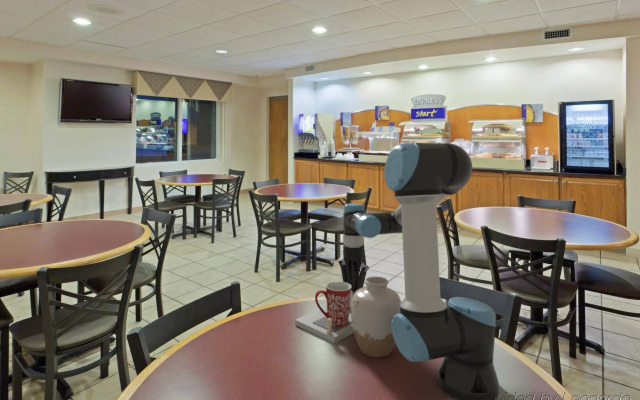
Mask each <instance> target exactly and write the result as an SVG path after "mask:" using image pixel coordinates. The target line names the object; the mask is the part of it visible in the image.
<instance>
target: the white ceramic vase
mask: <svg viewBox="0 0 640 400" xmlns="http://www.w3.org/2000/svg"><path fill="white" fill-rule="evenodd" d="M364 284H366V286H363V287H362V288H360V289H358V290H357V291H356V292H355V293H354V295H353V298H352V302H351V319H352V325H353V330H354V333H353V334H354V337H355V340H356V343H357V346H358V347H359V349H360V352H361V353H362V354H363V355H365V356H366V357H370V358H377V359H379V358H384V357H387V356H389V355H390V354H391V352H392V351H393V349H394V347H395V345H396V343H395V340H394V337H393V333H392V327H391V323H392V319H393V316H394V315H396V314H397V313H399V314H400V303H401V302H402V300H401V297H400V296H399V294H398V292H397V291H395V290H394V289H392V288H390V287H388V284H389V280H388V279H387V278H385V277H383V276H369V277H365V281H364Z"/></svg>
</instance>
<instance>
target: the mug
mask: <svg viewBox="0 0 640 400" xmlns="http://www.w3.org/2000/svg"><path fill="white" fill-rule="evenodd" d="M325 288H326V290H323V289H319V290H317V291H316V293H315V296H314V299H315V300H314V301H315V304H316V306H317V308H318V310H319V309H320V311H321V312H322V313H323V314H324V315H325V316H326V317H327V319H328V318H331V319H332V326H333V327H344V326H346V325H347V324H348V321H349V307H350V294H351V285H350V284H348V283H345V282H343V281H331V282H327V283H326V284H325ZM320 294H323V295H324V297H325V299H326V306H327V312H325V311H324V310H323V309H322V308H323V307H321V305H320V303H319V302H318V301H319V300H318V296H319V295H320Z"/></svg>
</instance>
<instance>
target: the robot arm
mask: <svg viewBox="0 0 640 400" xmlns="http://www.w3.org/2000/svg"><path fill="white" fill-rule="evenodd" d="M472 174H473V162H472V159H471V157H470V155H469V154H468V152H467V151H466V150H465V149H464V148H463V147H462V146H459V145H456V144H455V143H449V142H442V143H440V142H438V143H436V142H407V143H399V144H397V145H395V146H394V147H393V148H392V149H391V150H390V151H389V153H388V156H387V159H386V161H385V165H384V181H385V184H386V185H385V186H387V188H388V189H389V190H390V191H392V192H394V199H395V200H397V202H399V203H400V204H399V206H397V208H395V209H394V211H389V212H388V211H387V212H372V213H371V212H370V213H366V211H365V206H364V204H363V203H358V202H357V203H355V202H354V203H353V202H352V203H350V202H349V203H345V204H344V206H343V213H342V215H343V237H342V238H343V247H342V248H343V250H342V254H343V259H340V260H338V264H339V267H340V271H341V276H342V277H341V278H342V282H345V283H348V284H350V285H351V294H350V307H351V302H352V298H353V295H354V293H355V292H356V291H357V290H358V289H360V288H362V287H364V284H365V280H366V278H367V277H366V276H367V272H368V270H369V268H370V266H369V265H366V264H365V263H364V257H363V256H364V252H365V251H364V250H365V247H364V243H365V238H368V239H373V238H375V237H376V236H378V235H388V234H402V251H403V252H402V253H403V272H404V273H403V275H404V277H403V278H404V293H405V294H404V295H405V297H404V299H402V300H401V303H400V314H399V313H397V314H396V315H394V316H393V319H392V323H391V327H392V333H393V337H394V340H395V345H396V348H397V349H398V350H399V352H400V353H401V355H402V357H404V358H405V359H406V360H407V361H409V362H412V363H415V362H429V361H432V360H437V359H441V358H442V359H443V360H442V362H441V365H440V367H439V370H438V371H437V372H438V374H437V382H438V385H439V386H440V388H441V389H442V390H443V391H444V392H445V394H446V393H447V394H448V395H450V396H451V397H453V398H455V399H458V400H496V398H498V396H499V392H500V391H499V390H500V382H499V379H498V376H497V372H496V369H495V365H494V353H495V352H494V350H495V341H496V340H495V338H496V327H497V323H496V311H495V310H494V309H493V308H492V307H491V305H488V304H486V303H485V302H482V301H480V300H477V299H475V298H474V299H473V298H469V297H464V296H454V297H451V298H449V299H448V301H447V302H445V301H444V300H443V299H442V297H441V283H440V282H441V281H440V262H439V260H440V259H439V258H440V257H439V239H438V238H439V237H438V218H437V217H438V216H437V205H438V204H439V203H440V202H441V201H443V200H444V199H445V198H446V197H448V196H453V195H456V194H457V193H459V191H461V190H462V189H463V188H464V187H465V186H466V185H467V184H468V182H469V181H470V179H471V177H472Z"/></svg>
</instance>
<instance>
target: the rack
mask: <svg viewBox="0 0 640 400" xmlns="http://www.w3.org/2000/svg"><path fill="white" fill-rule="evenodd" d="M321 308H322V309H323V310H324V311H325V312H327V305H326V306H324V307H321ZM294 325H295V326H297V327H298V328H301V329H303V330H305V331H307V332H309V333H311V334H313V335H314V336H316V337H320V338H322V339H323V340H326V341H328V342H329V343H332V344H336V343H339V342H340V341H341V340H343V339H345V338H347V337H349V336H350V335H352V334H354V330H353V325H352V319H351V310H349V321H348V324H347V325H346V326H344V327H333V326H332V319H331V318H328V319H327V317H326V316H325V315H324V314H323V313H322V312H321V311H320V309H319V308H318V309H317V310H314V311H313V312H310V313H307V314H305V315H303V316H300V317H298V318H296V319H295V320H294Z"/></svg>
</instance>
